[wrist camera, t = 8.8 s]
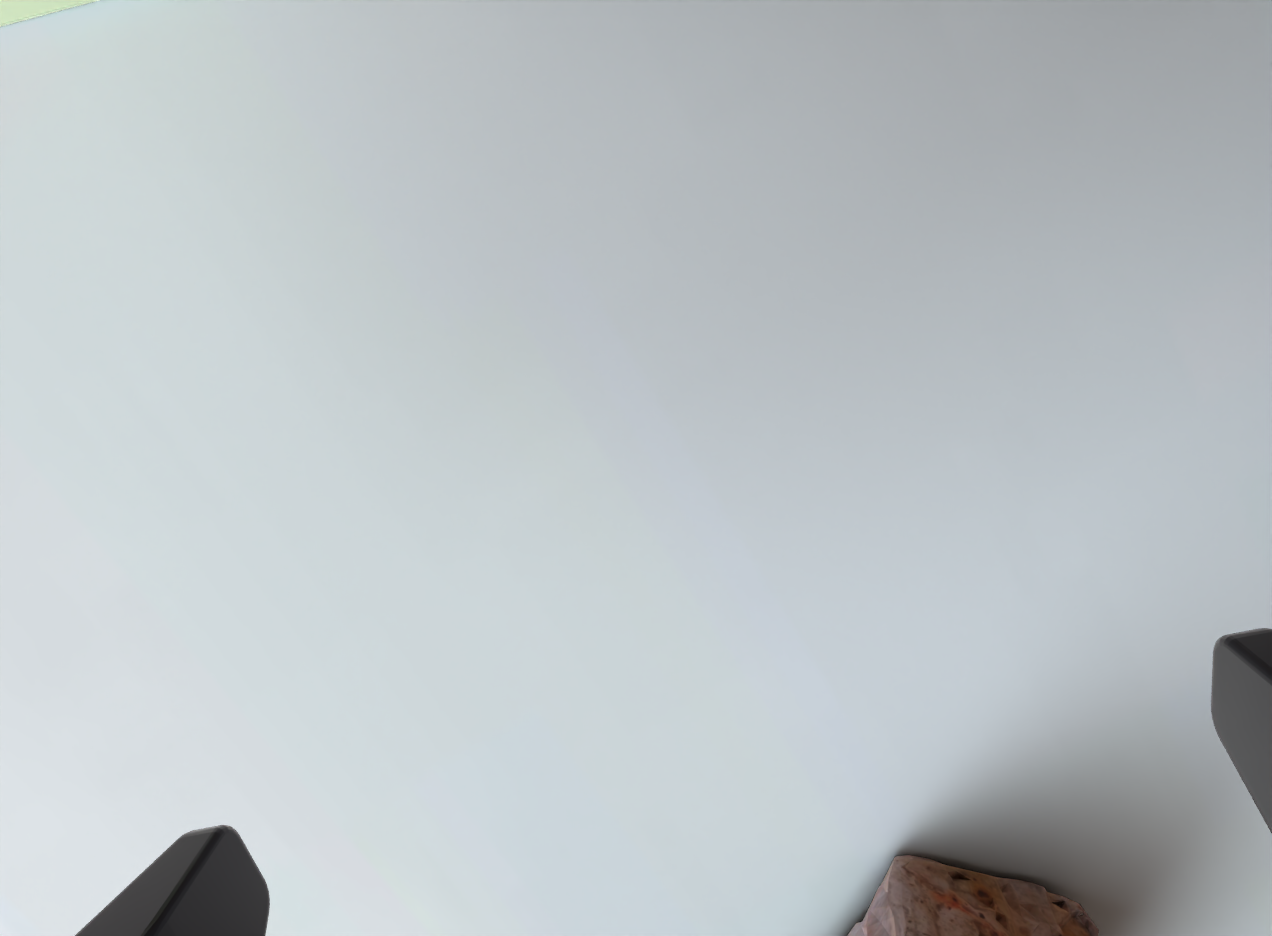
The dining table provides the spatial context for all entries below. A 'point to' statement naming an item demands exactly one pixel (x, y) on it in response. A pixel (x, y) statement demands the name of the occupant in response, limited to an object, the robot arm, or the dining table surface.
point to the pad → (33, 8)
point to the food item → (966, 905)
